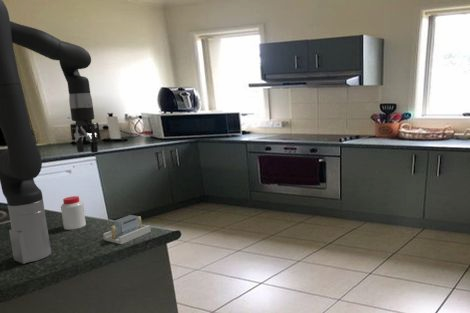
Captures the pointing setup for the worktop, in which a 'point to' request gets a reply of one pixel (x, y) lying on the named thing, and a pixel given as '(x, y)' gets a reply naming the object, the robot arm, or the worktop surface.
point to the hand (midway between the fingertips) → (87, 152)
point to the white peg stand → (127, 237)
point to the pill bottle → (73, 213)
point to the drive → (126, 225)
